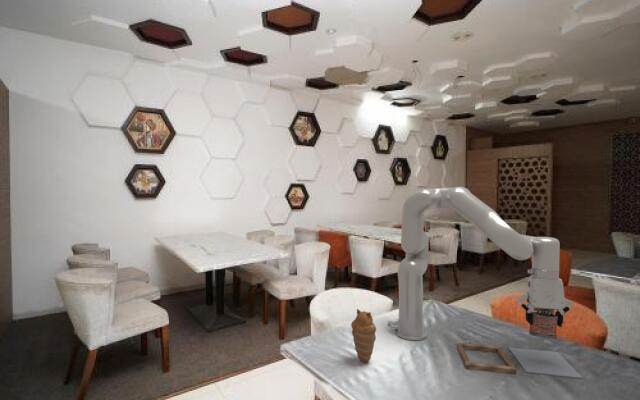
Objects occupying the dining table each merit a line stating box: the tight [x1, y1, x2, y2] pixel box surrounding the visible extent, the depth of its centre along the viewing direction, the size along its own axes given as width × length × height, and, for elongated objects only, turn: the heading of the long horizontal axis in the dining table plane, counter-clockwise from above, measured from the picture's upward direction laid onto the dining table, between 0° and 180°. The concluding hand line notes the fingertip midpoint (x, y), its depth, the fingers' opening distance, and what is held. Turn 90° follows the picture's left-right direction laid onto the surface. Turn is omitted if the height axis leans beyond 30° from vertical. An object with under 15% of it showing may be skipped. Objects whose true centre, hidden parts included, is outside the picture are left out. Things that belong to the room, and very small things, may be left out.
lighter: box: [528, 308, 558, 340], centre depth 111 cm, size 8×3×10 cm, turn 70°
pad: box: [508, 347, 584, 380], centre depth 111 cm, size 16×16×1 cm
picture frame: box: [456, 342, 517, 375], centre depth 113 cm, size 15×15×2 cm
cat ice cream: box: [350, 308, 377, 363], centre depth 112 cm, size 9×8×18 cm
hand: (543, 324), depth 111 cm, fingers closed on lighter, 8 cm apart
